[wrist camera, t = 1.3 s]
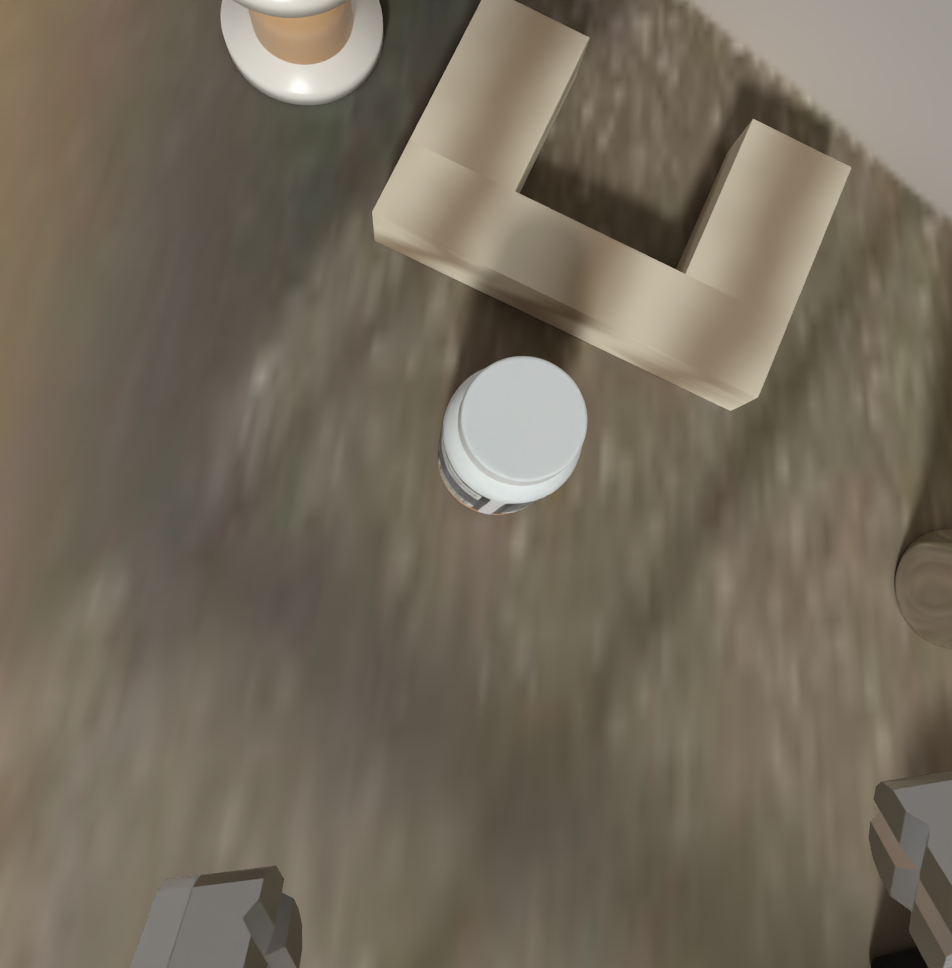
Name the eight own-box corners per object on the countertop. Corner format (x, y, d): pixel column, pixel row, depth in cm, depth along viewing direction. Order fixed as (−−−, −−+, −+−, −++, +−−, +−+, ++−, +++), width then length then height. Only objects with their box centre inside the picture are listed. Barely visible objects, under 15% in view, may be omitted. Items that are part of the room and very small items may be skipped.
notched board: (374, 240, 37) (372, 211, 34) (481, 31, 39) (488, -13, 36) (730, 411, 38) (758, 397, 35) (818, 197, 40) (851, 167, 37)
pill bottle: (553, 406, 37) (607, 346, 27) (547, 520, 36) (601, 501, 27) (439, 397, 37) (452, 332, 27) (431, 512, 36) (442, 489, 26)
